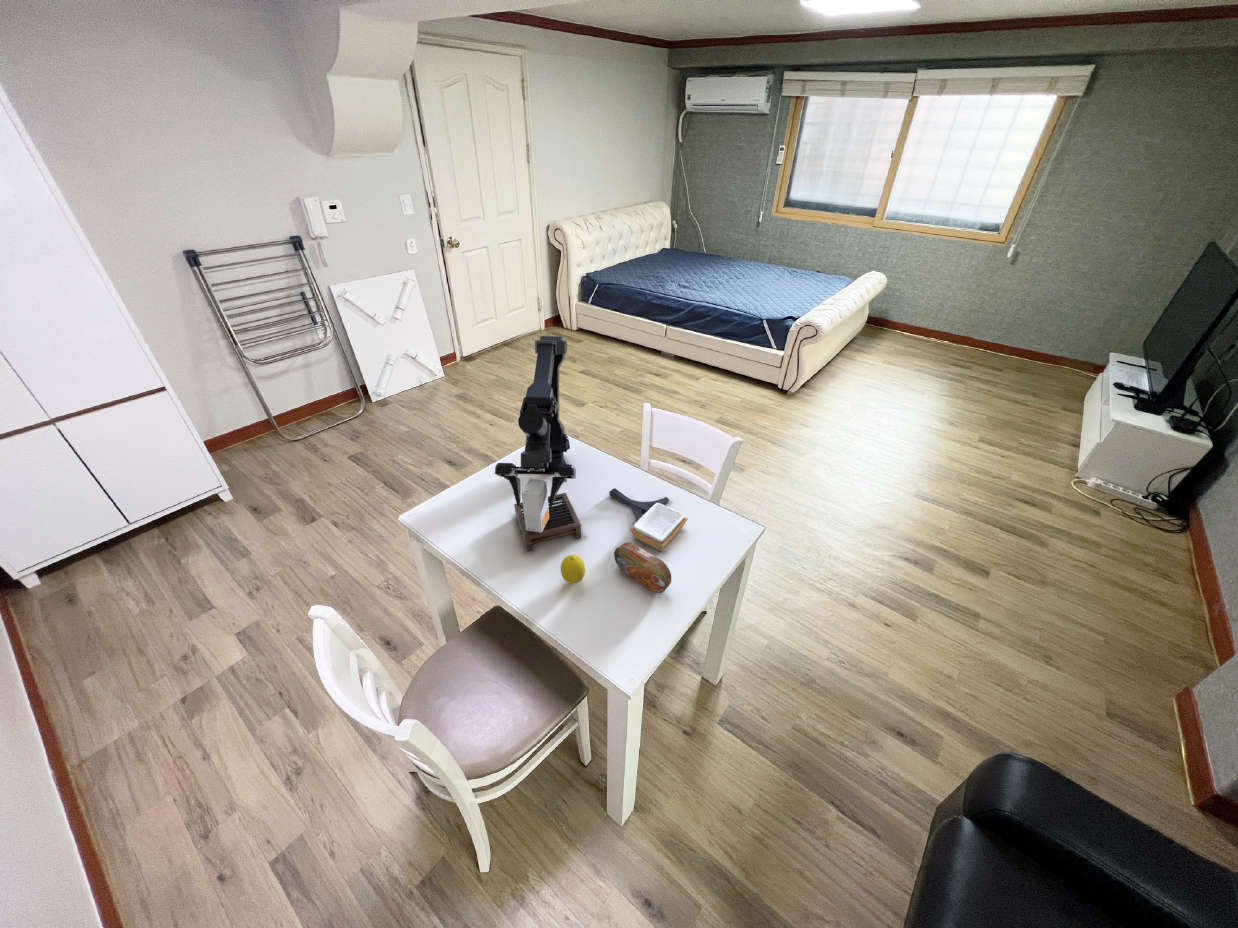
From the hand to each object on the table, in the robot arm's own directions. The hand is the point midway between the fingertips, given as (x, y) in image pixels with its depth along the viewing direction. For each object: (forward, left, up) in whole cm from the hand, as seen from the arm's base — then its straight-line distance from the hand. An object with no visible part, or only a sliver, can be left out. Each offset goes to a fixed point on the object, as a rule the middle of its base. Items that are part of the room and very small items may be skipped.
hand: (534, 506), depth 117 cm
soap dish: (+8, +30, -12) cm, 33 cm away
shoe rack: (-4, +4, -11) cm, 13 cm away
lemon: (+16, +5, -12) cm, 20 cm away
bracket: (-4, +28, -12) cm, 30 cm away
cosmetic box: (-1, +1, -7) cm, 7 cm away
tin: (+21, +20, -12) cm, 31 cm away
